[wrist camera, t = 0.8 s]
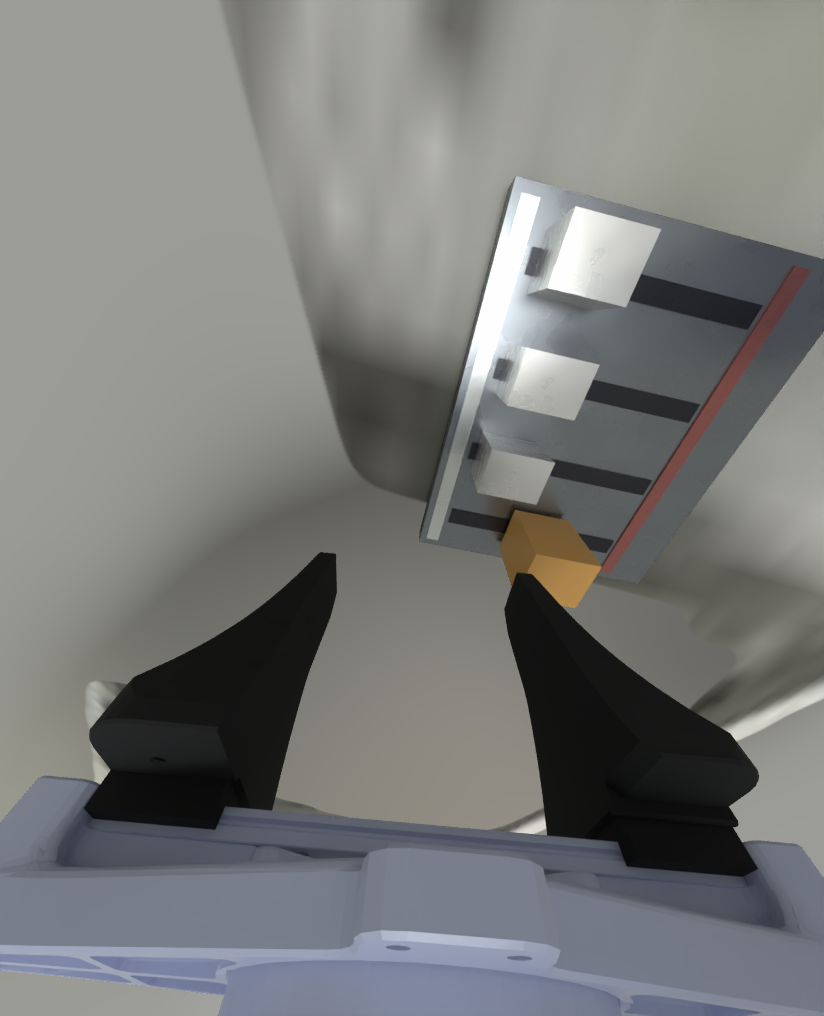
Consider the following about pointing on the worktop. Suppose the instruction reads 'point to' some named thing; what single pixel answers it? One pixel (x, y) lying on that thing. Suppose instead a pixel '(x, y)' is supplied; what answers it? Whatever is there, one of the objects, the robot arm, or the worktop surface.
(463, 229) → the worktop surface
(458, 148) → the worktop surface
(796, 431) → the worktop surface
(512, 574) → the toggle
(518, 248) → the breaker panel
